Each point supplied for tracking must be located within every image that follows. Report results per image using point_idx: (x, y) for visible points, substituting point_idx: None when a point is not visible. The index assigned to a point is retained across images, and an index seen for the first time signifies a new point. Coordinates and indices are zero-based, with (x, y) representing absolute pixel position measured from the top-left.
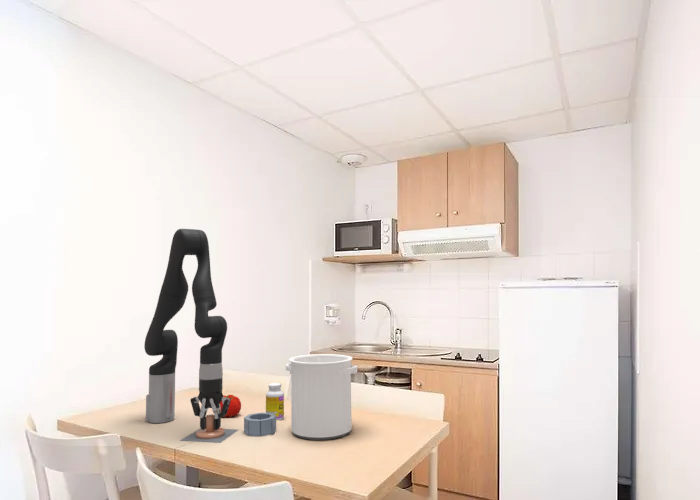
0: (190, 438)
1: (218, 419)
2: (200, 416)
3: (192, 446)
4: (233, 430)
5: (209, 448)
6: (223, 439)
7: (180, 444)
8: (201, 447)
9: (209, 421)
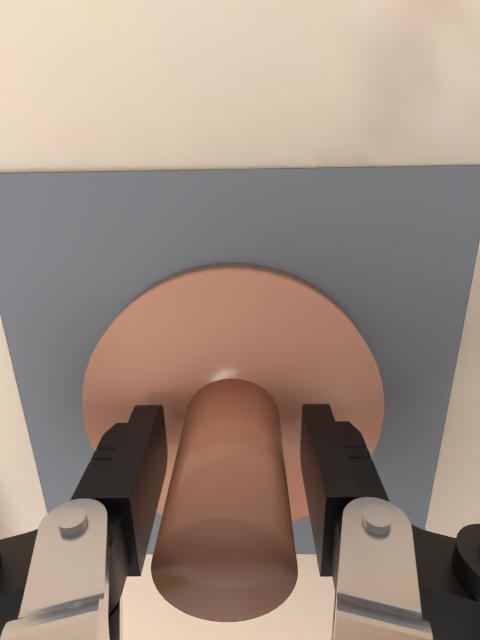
0: (391, 260)
1: (71, 506)
2: (384, 515)
3: (263, 54)
4: None
5: (15, 16)
6: (9, 286)
7: (443, 102)
8: (133, 36)
9: (211, 461)
